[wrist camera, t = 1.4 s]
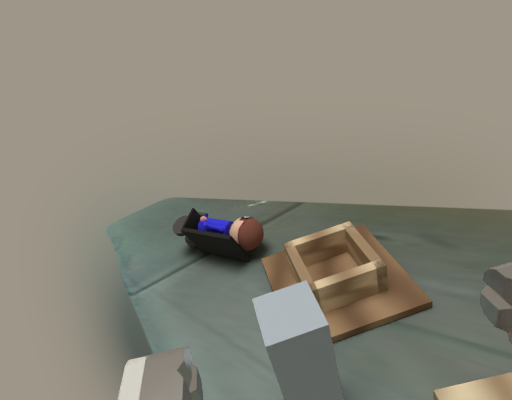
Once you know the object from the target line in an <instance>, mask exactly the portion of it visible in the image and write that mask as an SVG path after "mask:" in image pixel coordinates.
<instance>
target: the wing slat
mask: <svg viewBox="0 0 512 400" xmlns="http://www.w3.org/2000/svg"><path fill="white" fill-rule="evenodd" d="M433 397H434V399H435V400H512V372H511V373H506V374H502V375H498V376H493V377H489V378H485V379H480V380H476V381H472V382H467V383H463V384H459V385H454V386H450V387H446V388H441V389H437V390H434V393H433Z"/></svg>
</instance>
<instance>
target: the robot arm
mask: <svg viewBox="0 0 512 400" xmlns="http://www.w3.org/2000/svg"><path fill="white" fill-rule="evenodd" d="M483 281H484V282H485V283H486V284H487V286H486V287H485V288H484V289H483V291H482V292H481V296H480V304H481V307H482V310H483V313H484V314H485V316H486V317H487V319H488V320H489V321H490V322H491V323H492V324H493V325H494V326H495V327H496V328H499V329H501V330H503V331H506V332H508V337H509V341H510V342H511V343H512V262H511V263H507V264H503V265H499V266H496V267H492V268H488V269H487V270H486V271H485V272H484V276H483ZM118 400H203V391H202V384H201V379H200V375H199V372H198V369H197V367H196V366H194V365H192V354H191V352H190V350H189V348H188V347H182V348H178V349H173V350H169V351H165V352H160V353H156V354H152V355H148V356H145V357H140V358H136V359H131V360H128V362H127V364H126V366H125V368H124V374H123V378H122V382H121V387H120V392H119V396H118Z"/></svg>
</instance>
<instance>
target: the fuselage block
mask: <svg viewBox="0 0 512 400" xmlns="http://www.w3.org/2000/svg"><path fill="white" fill-rule="evenodd" d="M252 300H253V304H254V308H255V311H256V315H257V318H258V322H259V325H260V329H261V333H262V336H263V340H264V343H265V347H266V350H267V352H268V355H269V358H270V361H271V363H272V366H273V369H274V372H275V374H276V377H277V380H278V383H279V386H280V388H281V391H282V394H283V397H284V399H285V400H344V398H343V393H342V388H341V383H340V378H339V373H338V368H337V363H336V358H335V353H334V348H333V343H332V338H331V334H330V329H329V324H328V322H327V320H326V318H325V316H324V314H323V312H322V310H321V308H320V306H319V304H318V302H317V300H316V298H315V296H314V294H313V292H312V290H311V288H310V286H309V284H308V282H307V280H306V281H303V282H300V283H297V284H294V285H291V286H288V287H285V288H282V289H279V290H277V291H274V292H271V293H268V294H265V295H262V296H259V297H256V298H253V299H252Z"/></svg>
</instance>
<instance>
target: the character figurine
mask: <svg viewBox="0 0 512 400" xmlns="http://www.w3.org/2000/svg"><path fill="white" fill-rule="evenodd" d="M207 217H208V214H207V213H201V212H197V211H196V210H195V209H194V208H192V210H191V212H190V213H189V215H188V216H182V217H180V218H179V219H178V220H176V222H175V223H174V225H173V231H174V233H176V234H177V235H178V236H184V235H185V241H186V243H187V244H188V245H189V246H191V247H198V248H199V249H200V250H201V251H202V252H205V253H210V254H215V255H219V256H224V257H229V258H233V259H238V260H243V261H247V262H249V261H250V259H251V258H250V257H249V256H248V255H247V253H246V252H245V251H249V250H253V249H255V248H257V247H258V246H259V245H260V243H261V242H262V240H263V228H262V226H261V224H260V223H259V222H258V221H257V220H256V219H254V218H251V217H242V218H239V219H237V220H236V221H235V222H232V221H225V220H218V219H211V218H207ZM244 250H245V251H244Z"/></svg>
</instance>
